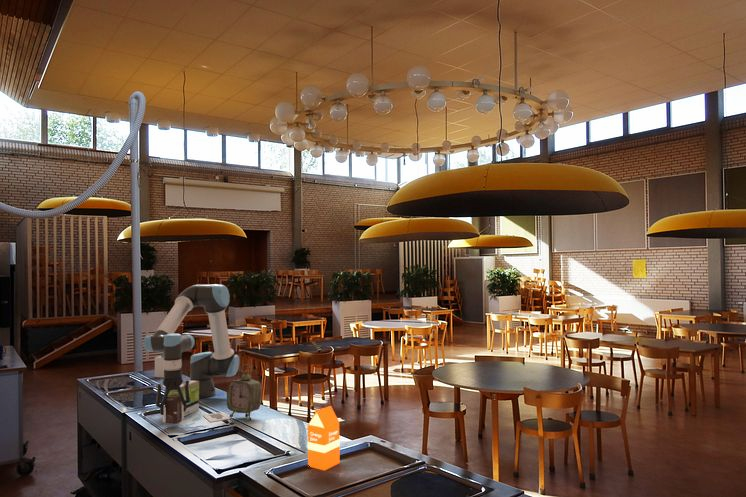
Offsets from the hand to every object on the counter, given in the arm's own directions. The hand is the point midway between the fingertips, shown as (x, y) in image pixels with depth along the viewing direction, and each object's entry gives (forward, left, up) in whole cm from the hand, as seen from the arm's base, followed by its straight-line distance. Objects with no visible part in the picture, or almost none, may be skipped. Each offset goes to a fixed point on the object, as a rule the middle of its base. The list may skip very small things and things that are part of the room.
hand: (173, 420), depth 246 cm
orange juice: (-35, +79, -3) cm, 87 cm away
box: (0, 0, -1) cm, 1 cm away
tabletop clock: (-31, +5, -3) cm, 31 cm away
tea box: (-9, -21, -3) cm, 23 cm away
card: (-21, -4, -3) cm, 21 cm away
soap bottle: (-21, -121, -3) cm, 123 cm away
